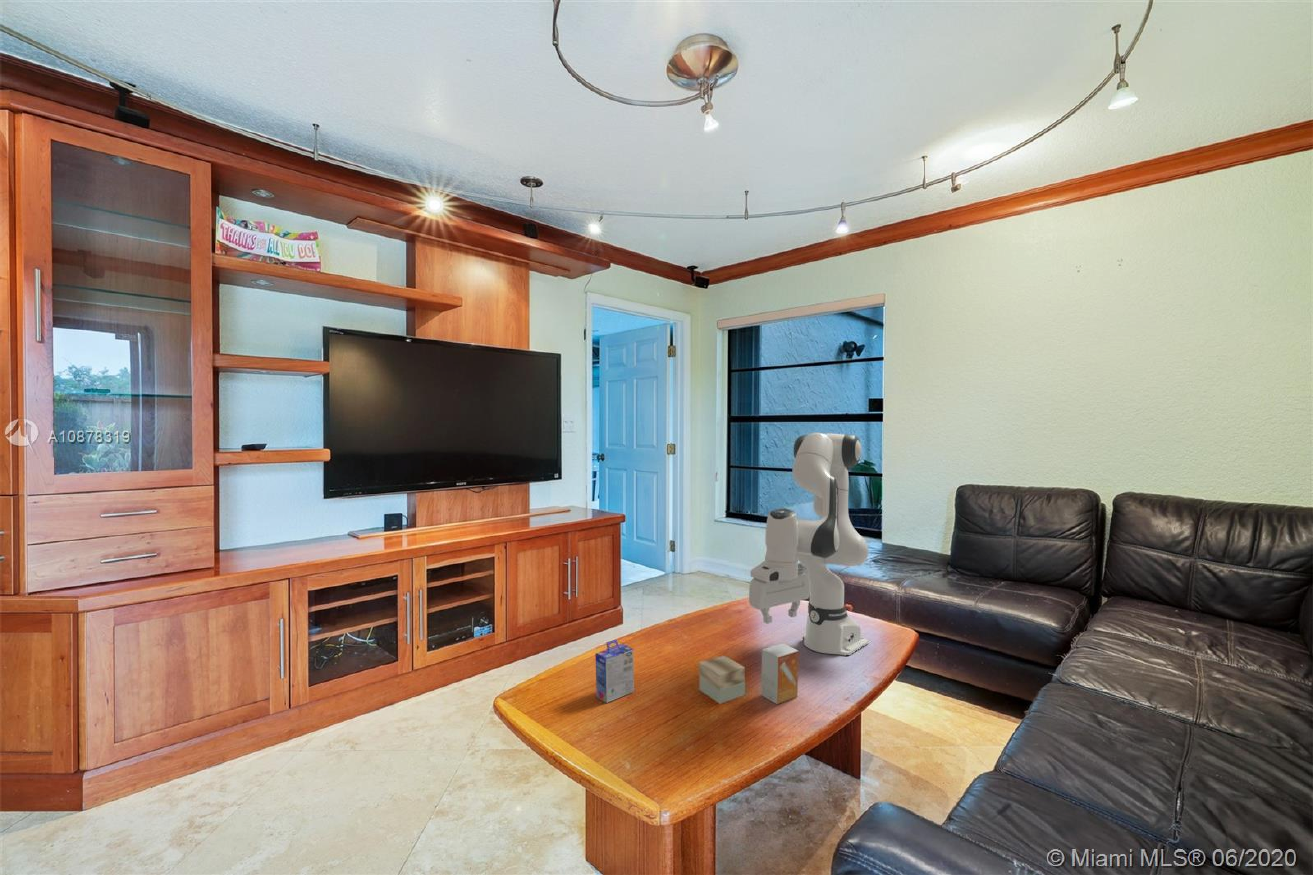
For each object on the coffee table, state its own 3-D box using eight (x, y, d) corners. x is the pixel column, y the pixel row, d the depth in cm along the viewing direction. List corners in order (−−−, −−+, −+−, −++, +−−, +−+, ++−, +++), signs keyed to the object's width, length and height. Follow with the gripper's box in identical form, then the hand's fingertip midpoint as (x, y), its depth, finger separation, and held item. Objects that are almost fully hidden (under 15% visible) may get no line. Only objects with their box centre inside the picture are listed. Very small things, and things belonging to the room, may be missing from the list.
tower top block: (723, 668, 159) (724, 655, 159) (744, 681, 152) (744, 667, 152) (699, 676, 154) (699, 662, 154) (719, 689, 147) (719, 675, 147)
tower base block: (724, 682, 159) (724, 669, 159) (745, 696, 152) (745, 681, 152) (699, 690, 154) (699, 676, 154) (719, 704, 147) (720, 690, 147)
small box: (777, 705, 146) (778, 657, 146) (760, 695, 152) (761, 648, 151) (798, 697, 151) (799, 650, 150) (781, 687, 156) (781, 642, 156)
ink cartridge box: (622, 684, 157) (622, 634, 157) (635, 692, 153) (635, 640, 152) (594, 696, 150) (594, 644, 150) (606, 704, 146) (606, 650, 146)
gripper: (799, 562, 158) (798, 609, 159) (745, 571, 147) (744, 622, 148) (816, 567, 153) (815, 616, 153) (762, 577, 142) (761, 630, 142)
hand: (780, 619), depth 150 cm, fingers open, 8 cm apart
